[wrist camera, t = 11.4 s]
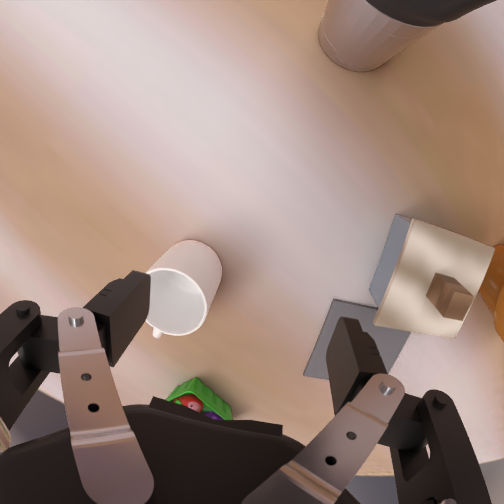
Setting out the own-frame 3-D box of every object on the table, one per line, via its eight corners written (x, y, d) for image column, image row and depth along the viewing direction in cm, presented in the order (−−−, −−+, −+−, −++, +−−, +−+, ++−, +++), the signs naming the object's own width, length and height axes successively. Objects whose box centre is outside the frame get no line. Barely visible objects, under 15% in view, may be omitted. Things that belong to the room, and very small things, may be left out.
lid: (412, 217, 30) (436, 232, 24) (491, 246, 30) (518, 263, 24) (372, 321, 34) (385, 350, 29) (452, 335, 34) (470, 360, 29)
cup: (234, 257, 41) (220, 293, 31) (197, 323, 45) (178, 367, 35) (178, 227, 40) (148, 253, 30) (147, 296, 44) (118, 334, 34)
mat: (333, 299, 41) (333, 300, 41) (416, 316, 41) (417, 317, 41) (303, 373, 46) (303, 375, 46) (380, 384, 46) (380, 386, 46)
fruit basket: (241, 408, 50) (233, 458, 40) (205, 422, 53) (193, 468, 42) (197, 368, 48) (179, 419, 37) (162, 386, 50) (142, 432, 40)
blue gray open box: (395, 213, 37) (416, 228, 30) (458, 235, 37) (484, 252, 30) (368, 289, 41) (382, 315, 34) (430, 303, 41) (450, 328, 34)
